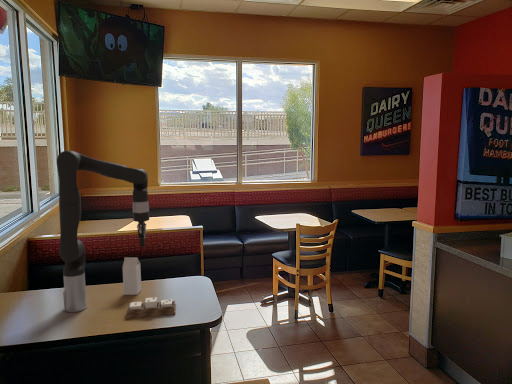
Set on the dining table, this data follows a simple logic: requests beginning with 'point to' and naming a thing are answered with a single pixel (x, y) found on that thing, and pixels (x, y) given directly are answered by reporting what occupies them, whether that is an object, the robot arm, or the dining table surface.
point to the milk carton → (131, 276)
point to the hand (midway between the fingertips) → (142, 245)
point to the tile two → (151, 302)
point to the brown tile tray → (151, 311)
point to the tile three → (166, 303)
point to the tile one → (135, 305)
